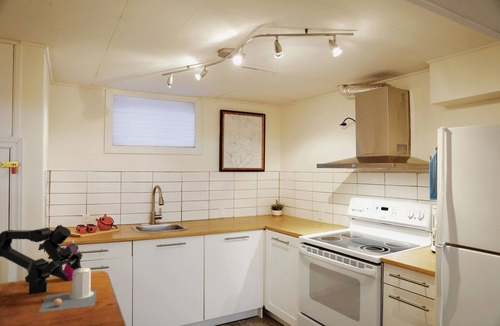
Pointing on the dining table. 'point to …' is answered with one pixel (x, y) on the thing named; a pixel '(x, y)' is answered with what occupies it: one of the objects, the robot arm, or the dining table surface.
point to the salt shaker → (81, 282)
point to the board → (68, 301)
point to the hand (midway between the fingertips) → (75, 277)
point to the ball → (57, 302)
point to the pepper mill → (68, 269)
